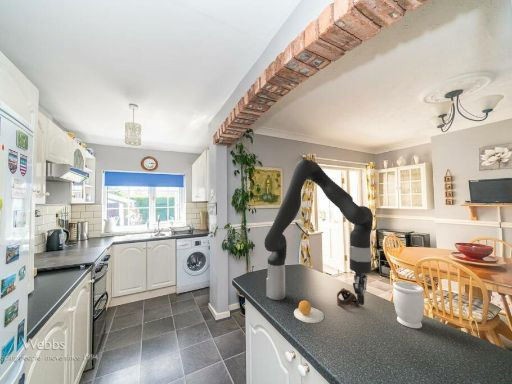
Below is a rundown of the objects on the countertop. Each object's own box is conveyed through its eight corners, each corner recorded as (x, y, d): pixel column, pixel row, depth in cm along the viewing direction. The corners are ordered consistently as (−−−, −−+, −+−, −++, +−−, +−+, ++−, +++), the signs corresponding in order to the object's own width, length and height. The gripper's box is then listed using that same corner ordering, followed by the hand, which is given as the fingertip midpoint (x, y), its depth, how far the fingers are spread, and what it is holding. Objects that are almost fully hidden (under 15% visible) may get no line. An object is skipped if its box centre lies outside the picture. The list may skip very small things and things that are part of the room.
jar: (416, 333, 78) (415, 293, 78) (388, 319, 87) (387, 283, 88) (430, 325, 82) (428, 287, 83) (402, 313, 92) (401, 279, 92)
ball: (306, 306, 88) (305, 318, 88) (314, 303, 91) (312, 314, 92) (296, 299, 92) (295, 311, 93) (304, 296, 96) (303, 308, 96)
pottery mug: (364, 311, 95) (357, 297, 93) (345, 319, 96) (338, 305, 94) (352, 293, 106) (346, 280, 105) (336, 300, 108) (329, 288, 106)
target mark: (290, 318, 88) (290, 318, 88) (297, 304, 100) (297, 304, 100) (321, 326, 83) (321, 325, 83) (325, 310, 94) (325, 310, 94)
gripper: (354, 253, 86) (354, 294, 86) (344, 259, 76) (345, 307, 75) (374, 256, 82) (375, 300, 81) (367, 264, 71) (368, 314, 71)
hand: (360, 303), depth 78 cm, fingers closed
